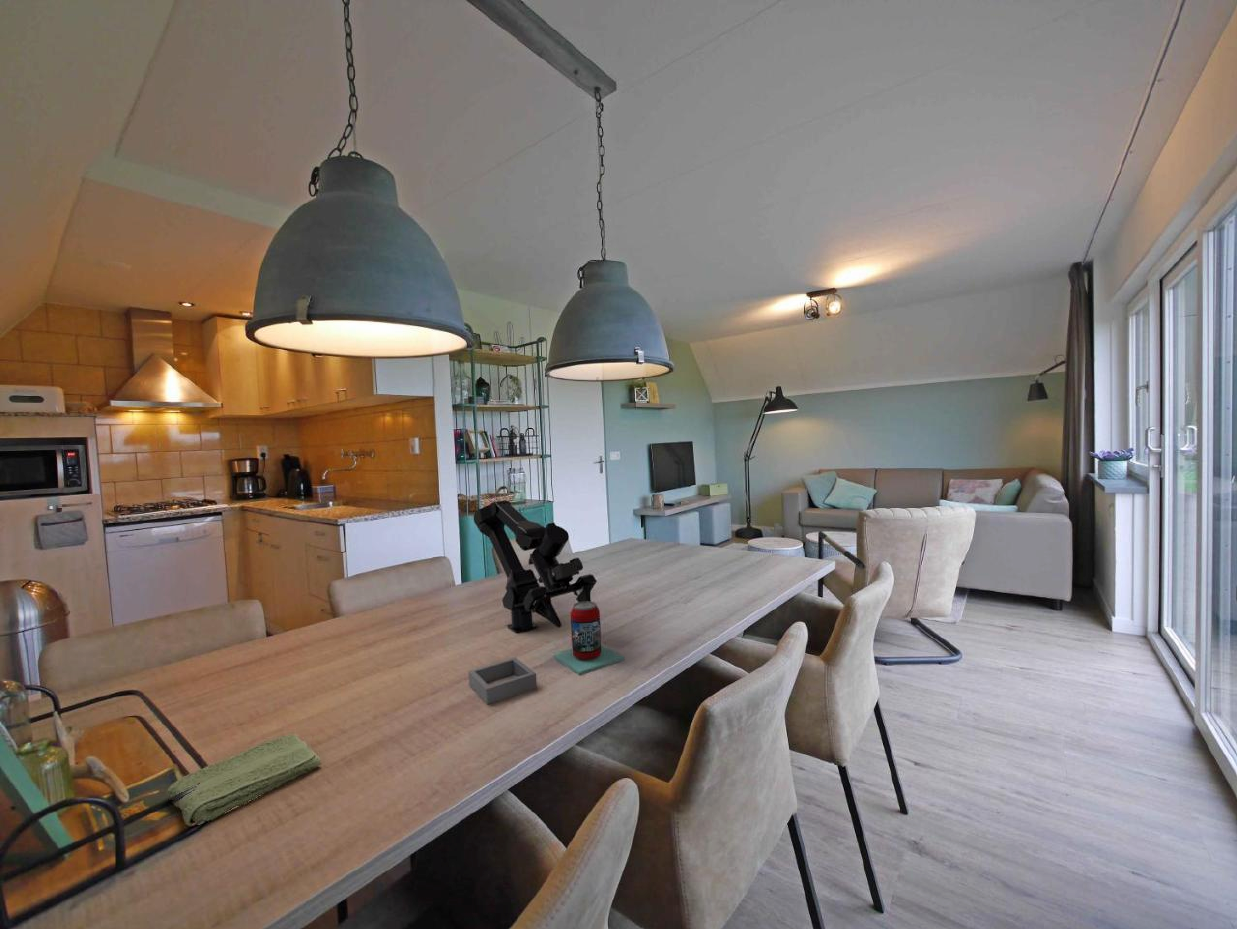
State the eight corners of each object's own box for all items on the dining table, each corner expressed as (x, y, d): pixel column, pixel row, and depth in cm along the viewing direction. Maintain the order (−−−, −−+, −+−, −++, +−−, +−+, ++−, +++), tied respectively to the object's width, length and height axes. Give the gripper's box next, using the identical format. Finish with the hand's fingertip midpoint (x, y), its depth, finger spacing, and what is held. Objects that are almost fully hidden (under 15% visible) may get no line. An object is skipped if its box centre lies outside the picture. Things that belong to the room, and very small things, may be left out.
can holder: (469, 685, 110) (468, 671, 110) (515, 670, 116) (515, 657, 116) (487, 704, 101) (486, 689, 101) (536, 687, 107) (535, 673, 107)
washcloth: (327, 768, 84) (325, 749, 84) (189, 837, 70) (187, 814, 70) (293, 743, 92) (292, 725, 92) (163, 800, 78) (162, 779, 78)
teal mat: (553, 657, 122) (553, 655, 122) (596, 644, 129) (596, 641, 129) (579, 674, 112) (578, 672, 112) (624, 659, 119) (624, 656, 119)
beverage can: (573, 663, 117) (571, 610, 116) (571, 651, 124) (569, 602, 123) (603, 660, 118) (601, 607, 117) (600, 648, 125) (597, 599, 124)
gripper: (526, 555, 121) (555, 613, 113) (590, 542, 133) (620, 593, 125) (511, 583, 127) (538, 639, 119) (573, 568, 139) (601, 618, 131)
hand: (576, 621), depth 123 cm, fingers open, 9 cm apart
